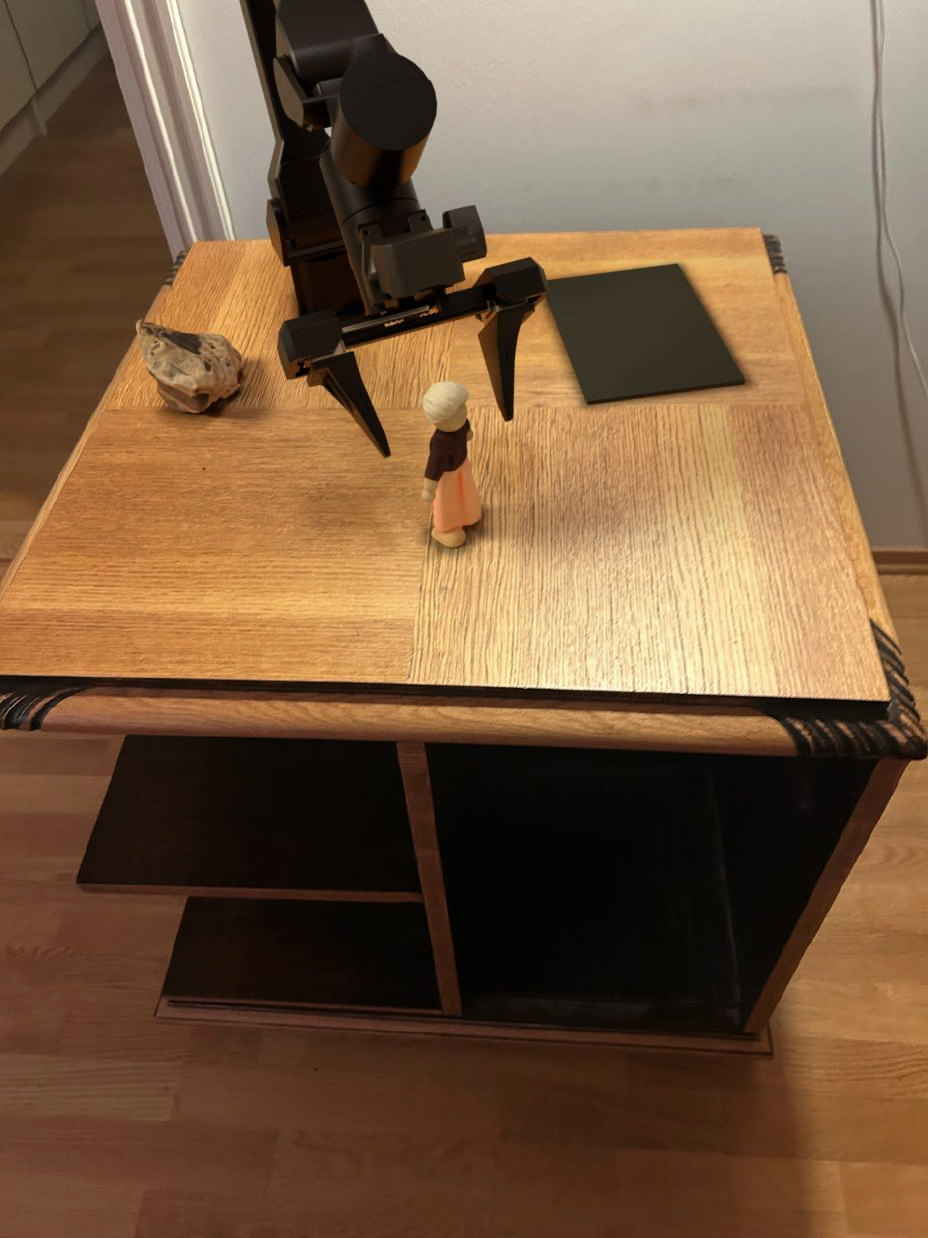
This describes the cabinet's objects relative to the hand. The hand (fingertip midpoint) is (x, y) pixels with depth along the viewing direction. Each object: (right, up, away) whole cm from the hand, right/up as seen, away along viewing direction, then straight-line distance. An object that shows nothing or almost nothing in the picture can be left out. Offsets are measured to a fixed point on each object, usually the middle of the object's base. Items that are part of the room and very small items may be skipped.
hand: (449, 438), depth 65 cm
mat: (+17, +14, +21) cm, 31 cm away
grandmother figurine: (0, -5, +6) cm, 8 cm away
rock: (-22, +8, +19) cm, 30 cm away
